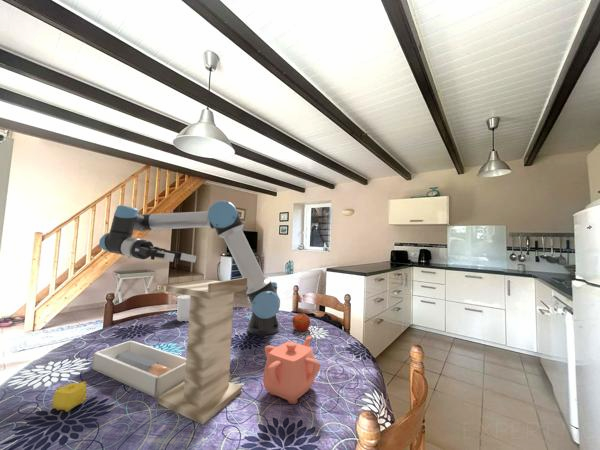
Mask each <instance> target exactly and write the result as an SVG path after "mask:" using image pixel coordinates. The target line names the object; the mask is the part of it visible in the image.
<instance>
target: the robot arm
mask: <svg viewBox="0 0 600 450" xmlns="http://www.w3.org/2000/svg"><path fill="white" fill-rule="evenodd" d="M111 222H112V223H111V225H110V230H109V232H108V233H103V234H102V236H101V237H100V239H99V241H98V243H99V247H100V248H101V249H102V250H103V251H106V252H109V253H113V254H117V255H122V256H127V258H128V259H131V258H135V259H138V260H139V259H140V260H146V259H149V258H150V260H155V259H158V260H162V261H166V262H171V263H172V262H174V259H177V260H180V261H186V262H190V263H196V260H197V255H193V254H188V253H185V251H182V252H178V251H173V250H168V249H166V248H160V247H159V246H154V243H153V242H151V241H150V240H145V239H141V238H137V237H132V236H133V233H134V231H137V232H147V231H157V230H158V231H159V230H161V231H162V230H173V229H174V230H175V229H177V230H178V229H191V228H192V229H194V228H209V229H210V230H213V229H215V232H216V234H217V236H218V237H219V238H222V239H224V242H225V244H226V246H227V248H228V250H229V252H230V254H231V256H232V259H233V260H234V263H235V264H236V267H237V269H238V271H239V273H240V274H241V278H244V277H246V278H247V290H246V293H245V294H246V296H247V297H248V300H249V301H250V304H251V309H252V313H251V317H250V319H249V321H248V325H247V331H248V333H250V334H253V335H257V336H264V335H265V336H268V335H269V336H270V335H273V334H276V333H277V332H279V330H280V323H279V320H278V316H277V313H278V312H279V310H280V307H281V299H280V297H279V295H278V283H277V282H274V281H271V279H268V278H266V276H265V274H264V272H263V270H262V268H261V266H260V264H259V262H258V260H257V258H256V256H255V254H254V251H253V249H252V248H251V246H250V244H249V241H248V239H247V238H246V237H247V236H246V235H245V233H244V231H243V228H244V227H245V224H244V223H243V221H242V219H241V216H240V214H239V211H238V210H237V208H236V206H235V205H234V204H233V203H232V202H230V201H228V200H218V201H216V202H214V203H213V204H212V205H210V207H209V209H208V210H207V211H206V210H205V211H188V212H187V211H185V212H169V213H168V212H166V213H164V212H163V213H145V214H143V213H142V214H140V213H139V209H138V208H135V207H133V206H132V207H131V206H127V205H117V206H116V209H115V211H114V214H113V218H112V221H111Z"/></svg>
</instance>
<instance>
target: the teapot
mask: <svg viewBox="0 0 600 450" xmlns="http://www.w3.org/2000/svg"><path fill="white" fill-rule="evenodd" d="M312 337H313V335H311V334H310V335H308V336H307V337H306V338H305V340H304V342H303V344H301V343H297V342H294V341H286V342H283V343H281V344H280V345H277V346H275V345H265V348H264V352H265V357H266V363H265V366H264V371H263V378H262V379H263V380H262V381H263V383H262V384H263V387H264V390H265V391H267V392H269V394H270V395H271V396H277V397H279V398H282V399H284V400H286V401H287V402H288V403H289V404H291V405H296V404H297V403H298V402H299V401H298V399H299V398H300V397H302V396H304V395H305V394H306V393H307V392H309V391H310V388H312V386H313V384H314V382H315V381H316V380H315V379H316V375H317V374H318V373H319V372H320V370H321V363H320V361H318V360H317V359H315V355H314V350H313V347H311V345H310V343H311V340H312Z"/></svg>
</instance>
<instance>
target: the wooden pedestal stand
mask: <svg viewBox="0 0 600 450" xmlns="http://www.w3.org/2000/svg"><path fill="white" fill-rule="evenodd" d="M247 289H248V287H247V278H246V277H244V278H243V277H239V278H234V279H227V280H223V281H222V280H213V279H201V280H195V281H188V282H181V283H176V284H175V283H174V284H169V285H168V284H167V285H166V287H165V292H168V293H172V294H178V295H190V296H191V297H190V311H189V321H188V325H187V326H188V329H187V330H188V331H187V342H186V343H187V344H186V345H187V346H186V356H185V358H186V369H185V381H184V382H183V383H181V384H179V385H178V386H176V387H174V388H172V389H171V390H169V391H167V392H166V393H164V394H162V395H161V396H159V397H157V401H156V402H157V404H158V405H160V406H161V407H164V408H166V409H168V410H171V412H175V413H177V414H179V415H181V416H183V417H185V418H187V419H189V420H192V421H194V422H196V423H197V424H199V425H203V426H204V425H205V424H206V423H207V422H208V421H209V420H210V419H211V418H213V417H214V416H215V415H216V414H217V413H219V412H220V411H221V410H222V409H223V408H224V407H226V406H227V405H228V404H229V403H230V402H232V401H233V400H234V399H235V398H237V396H239V395H240V394H241V393H242V388H243V386H242V385H239V384H236V383H233V382H230V370H231V369H230V368H231V367H230V366H231V355H232V354H231V350H232V334H233V333H232V332H233V318H234V317H233V313H234V312H233V311H234V297H235V295H234V294H235V293H239V292H244V291H247Z"/></svg>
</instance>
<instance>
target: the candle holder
mask: <svg viewBox="0 0 600 450" xmlns="http://www.w3.org/2000/svg"><path fill="white" fill-rule="evenodd" d="M190 297H191V296H190V295H184V294H180V295H179V296H177V297H176V299H177V303H176V304H177V305H176V307H177V309H176V310H177V311H176V320H177V321H178V322H182V321H185V322H189V311H190Z"/></svg>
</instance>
